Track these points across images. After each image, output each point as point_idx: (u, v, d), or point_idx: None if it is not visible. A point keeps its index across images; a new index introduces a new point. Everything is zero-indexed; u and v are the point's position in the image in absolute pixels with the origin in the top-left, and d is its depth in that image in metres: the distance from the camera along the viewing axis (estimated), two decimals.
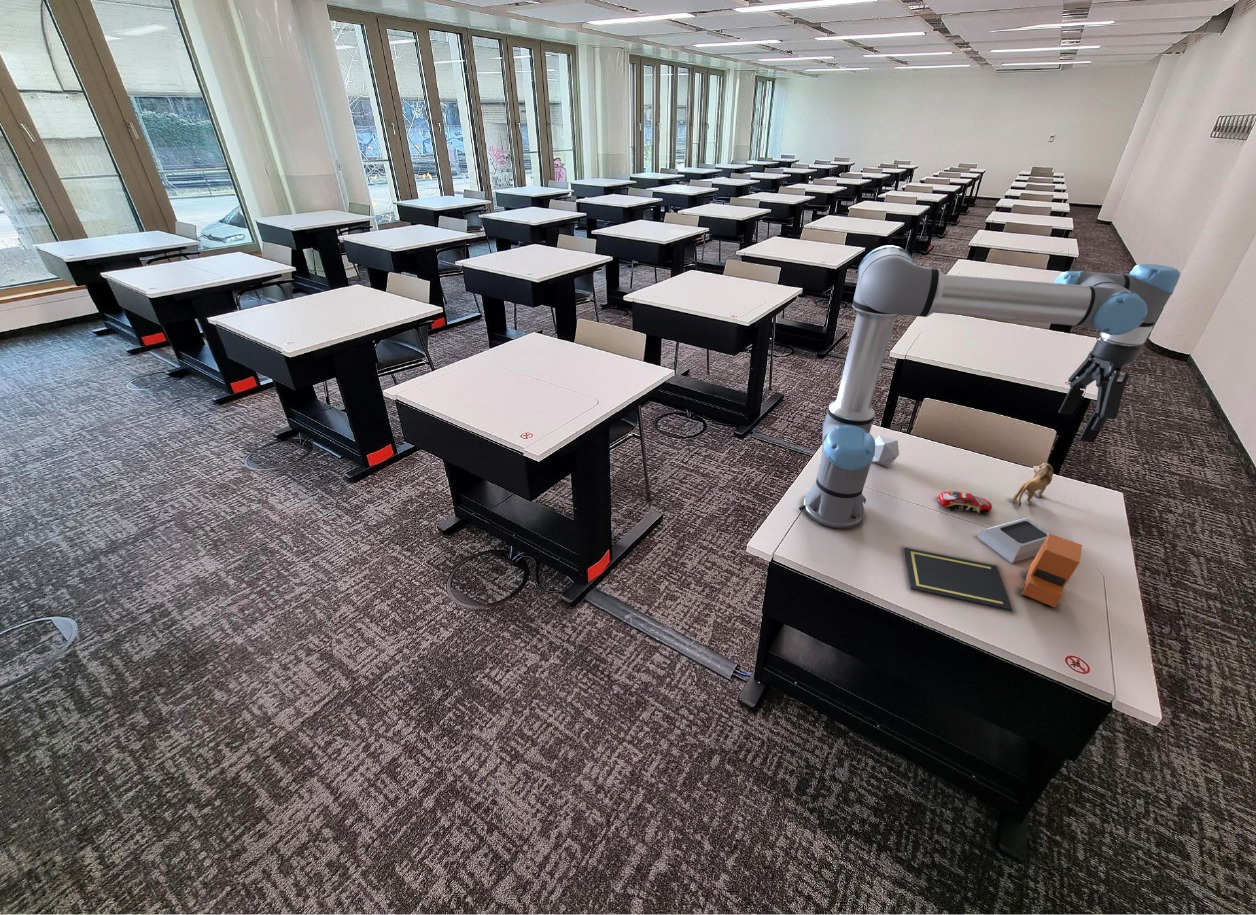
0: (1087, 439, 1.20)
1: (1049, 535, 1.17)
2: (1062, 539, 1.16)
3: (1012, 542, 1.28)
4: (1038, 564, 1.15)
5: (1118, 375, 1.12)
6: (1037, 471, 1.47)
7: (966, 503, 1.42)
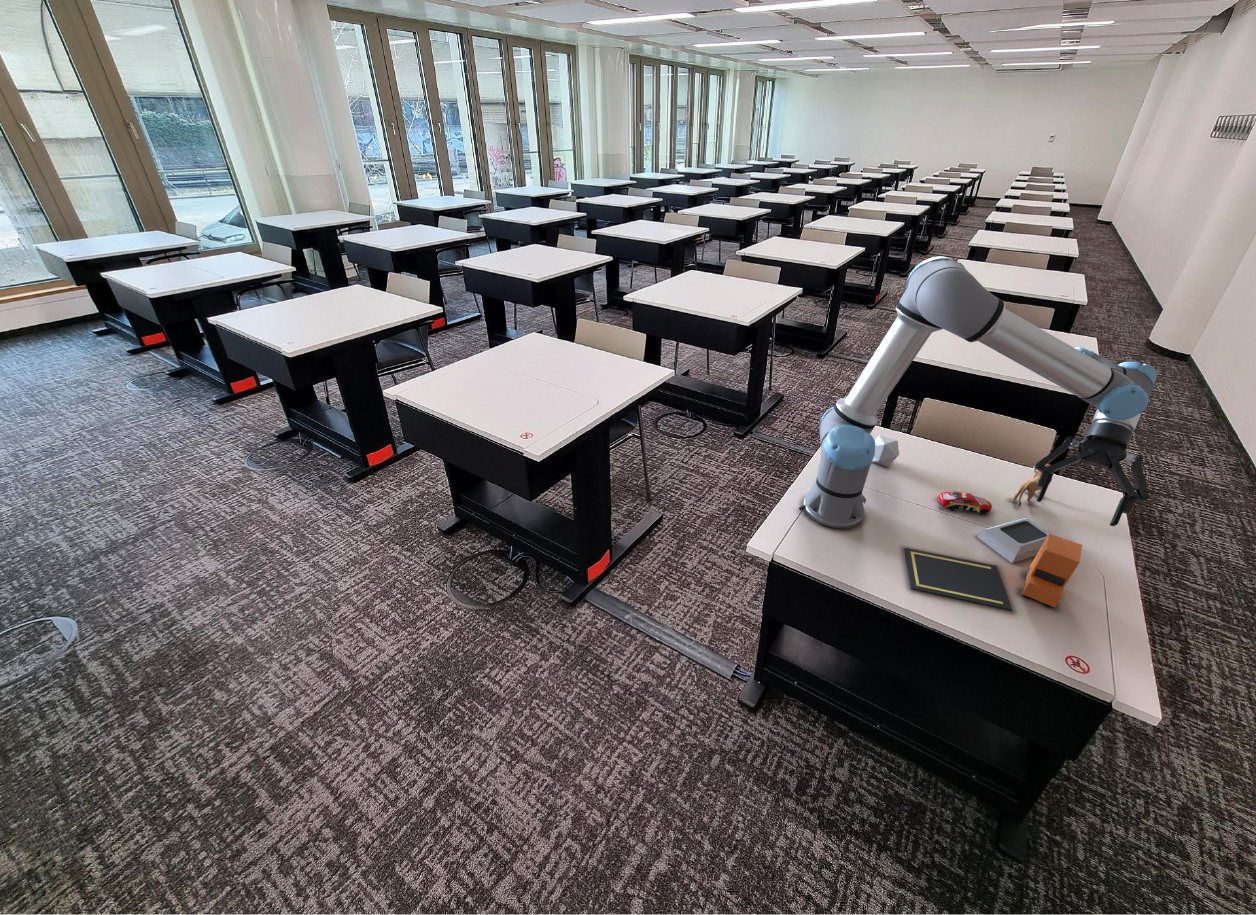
0: None
1: (1049, 535, 1.17)
2: (1062, 539, 1.16)
3: (1012, 542, 1.28)
4: (1038, 564, 1.15)
5: None
6: (1037, 471, 1.47)
7: (966, 503, 1.42)
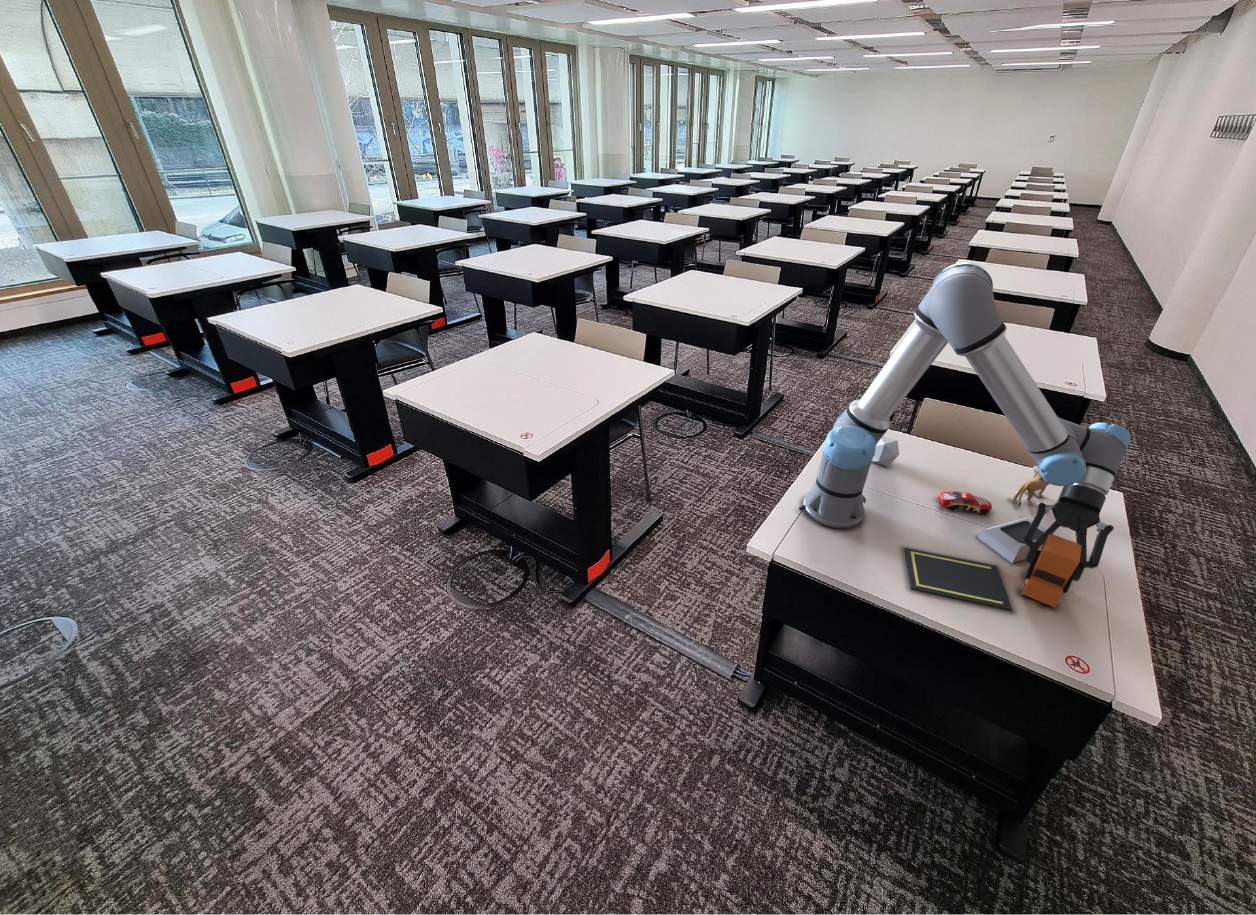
0: None
1: (1049, 535, 1.17)
2: (1062, 539, 1.16)
3: (1012, 542, 1.28)
4: (1038, 564, 1.15)
5: (1112, 529, 1.13)
6: (1037, 471, 1.47)
7: (966, 503, 1.42)
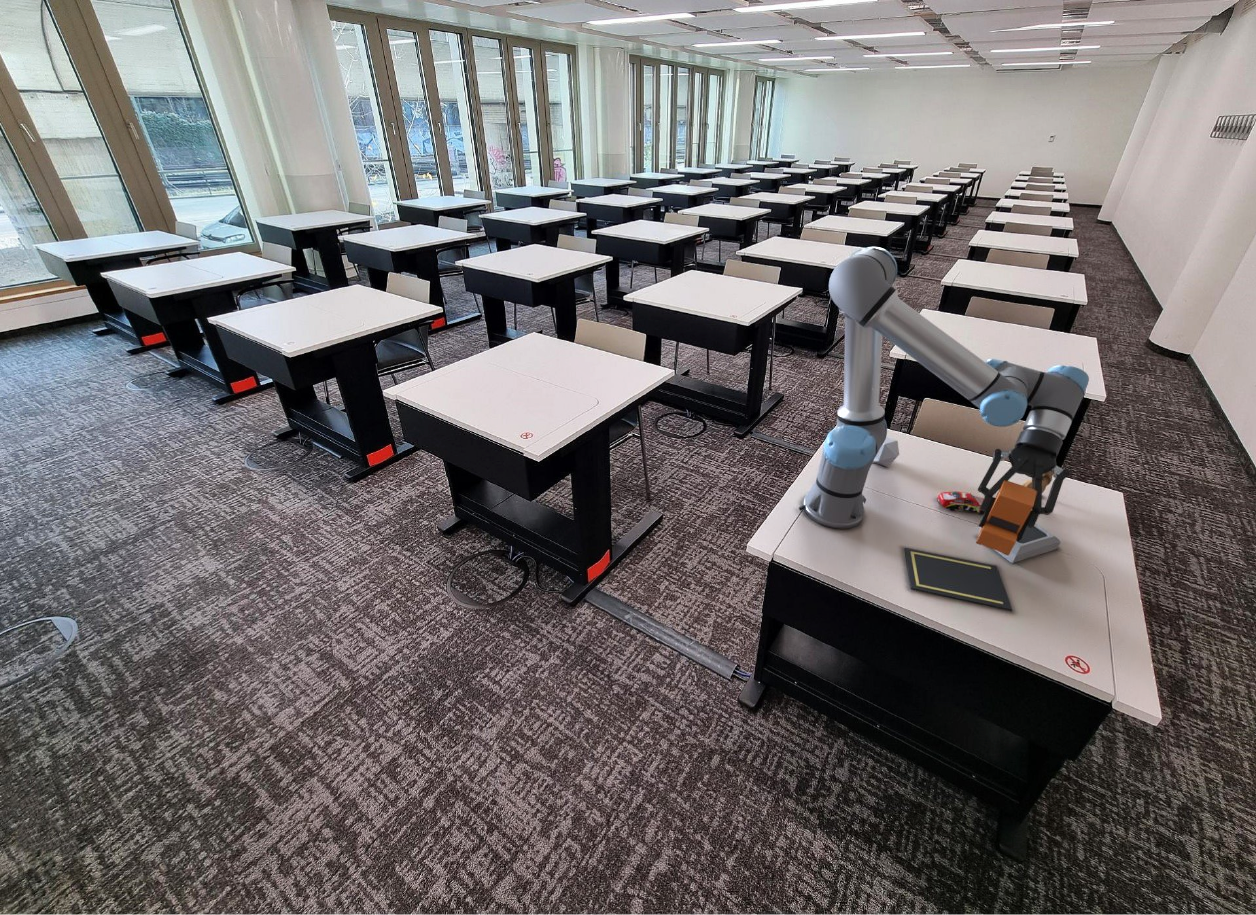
0: None
1: (1005, 481, 1.13)
2: (1017, 485, 1.11)
3: None
4: (992, 511, 1.11)
5: None
6: None
7: (966, 503, 1.42)
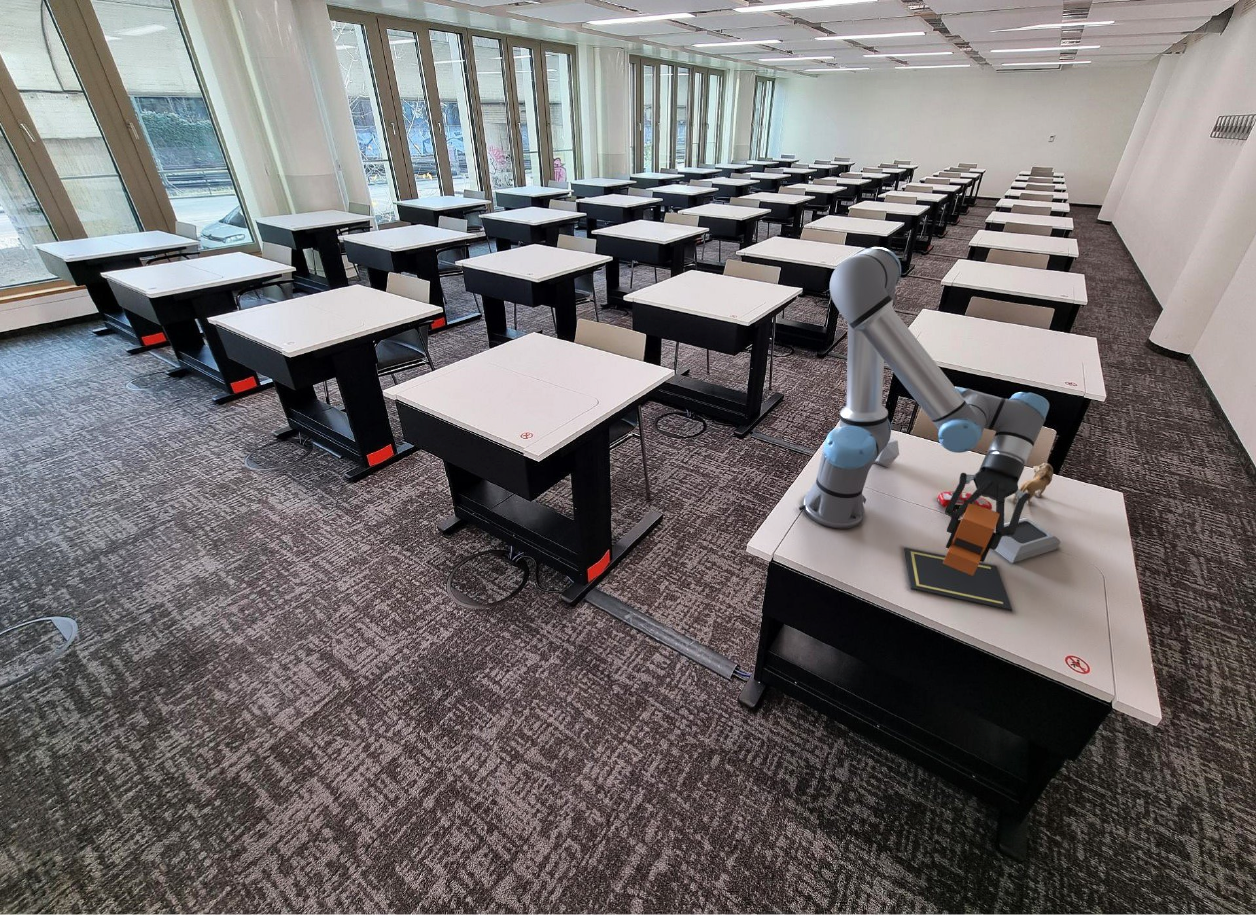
0: None
1: (969, 504, 1.17)
2: (981, 508, 1.16)
3: (1012, 542, 1.28)
4: (957, 533, 1.15)
5: (1029, 497, 1.13)
6: (1037, 471, 1.47)
7: None
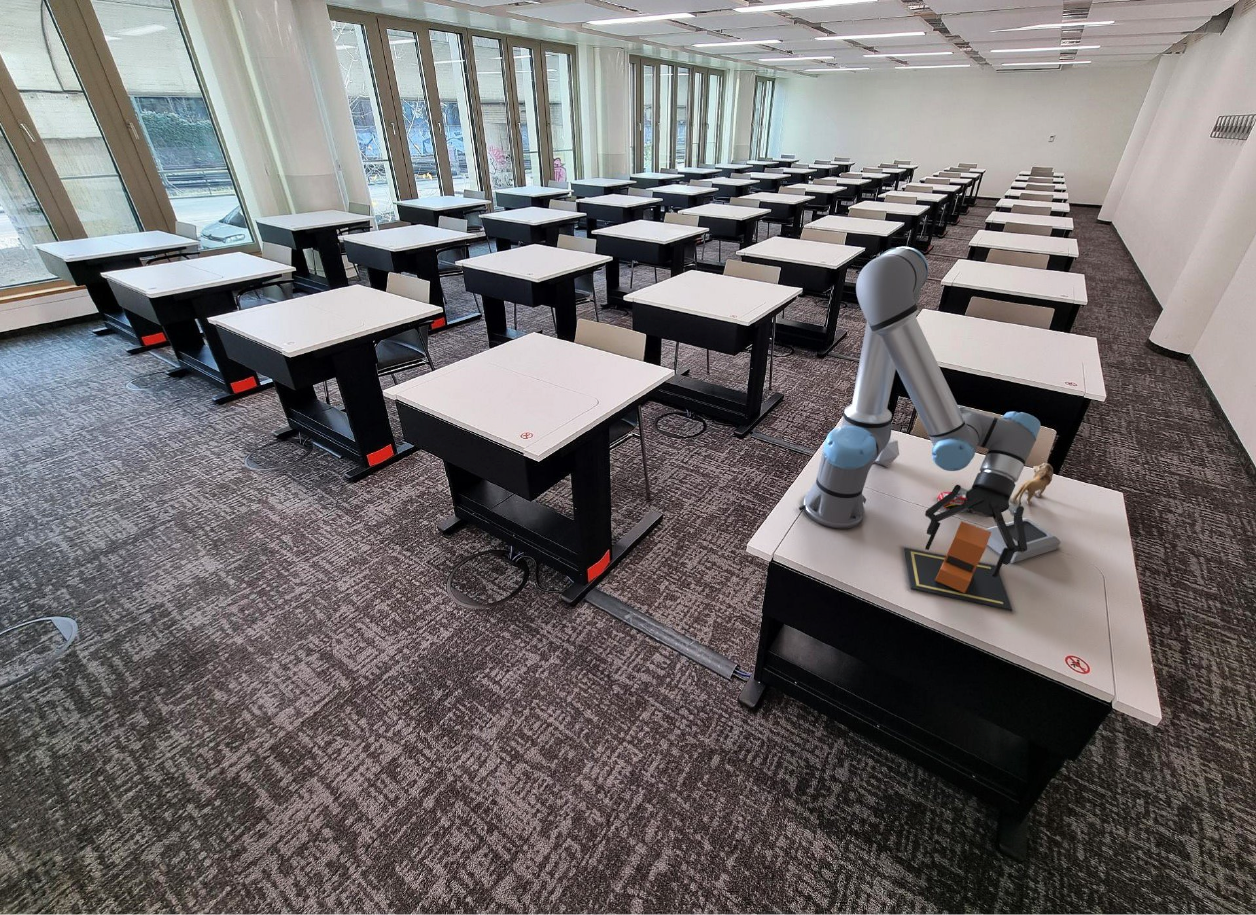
0: None
1: (961, 522, 1.20)
2: (973, 527, 1.19)
3: None
4: (949, 551, 1.18)
5: None
6: (1037, 471, 1.47)
7: None
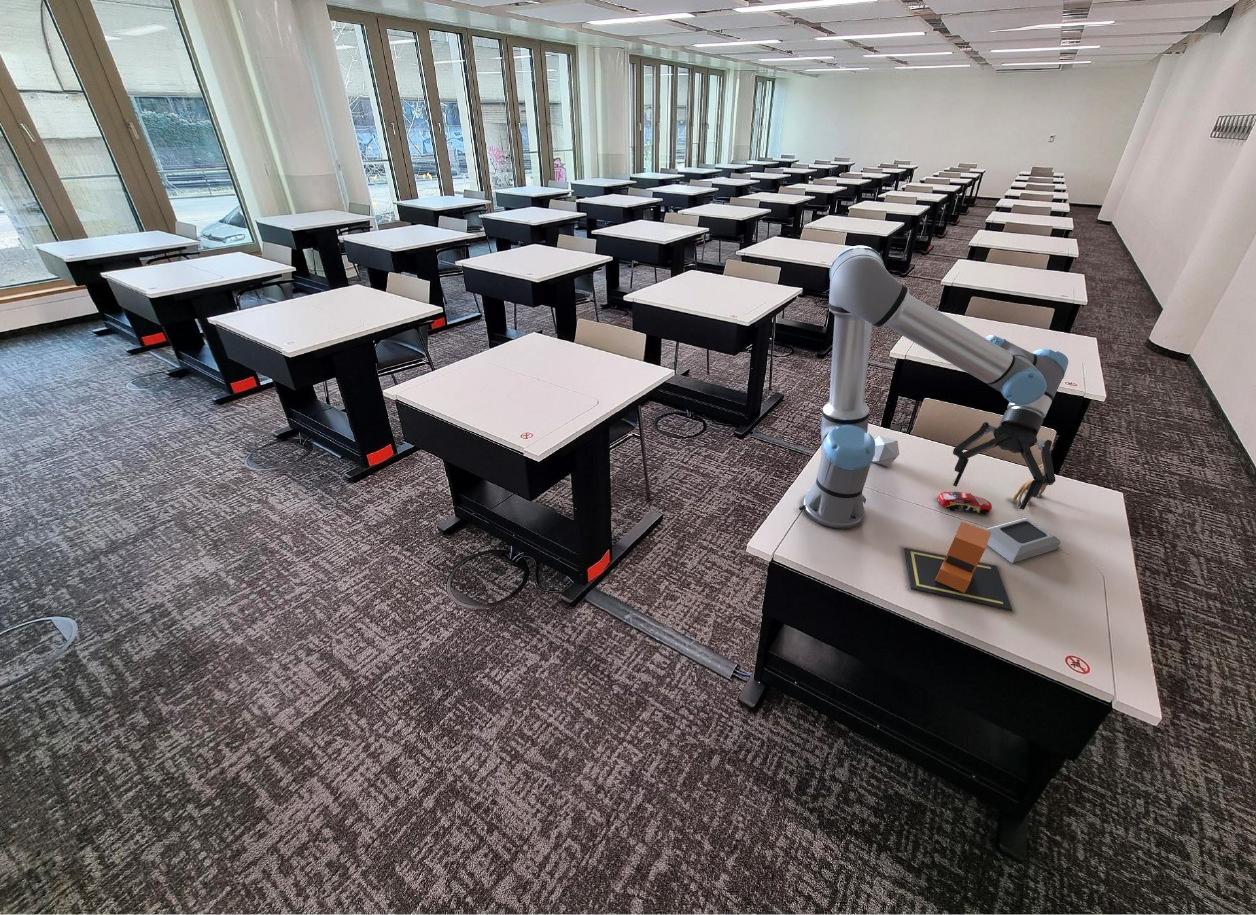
0: None
1: (961, 522, 1.20)
2: (973, 527, 1.19)
3: (1012, 542, 1.28)
4: (949, 551, 1.18)
5: None
6: None
7: (966, 503, 1.42)
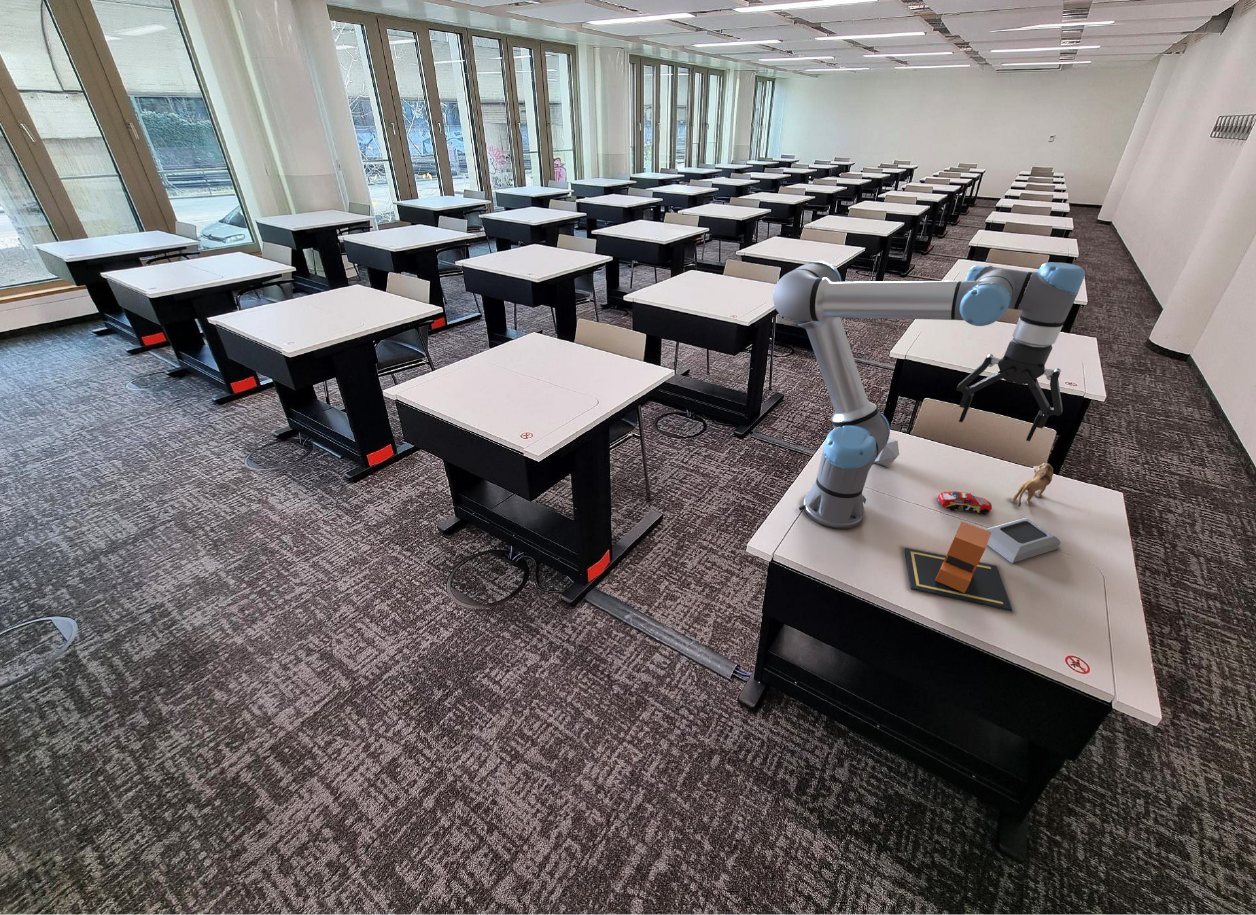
0: None
1: (961, 522, 1.20)
2: (973, 527, 1.19)
3: (1012, 542, 1.28)
4: (949, 551, 1.18)
5: (1059, 373, 1.10)
6: (1037, 471, 1.47)
7: (966, 503, 1.42)
